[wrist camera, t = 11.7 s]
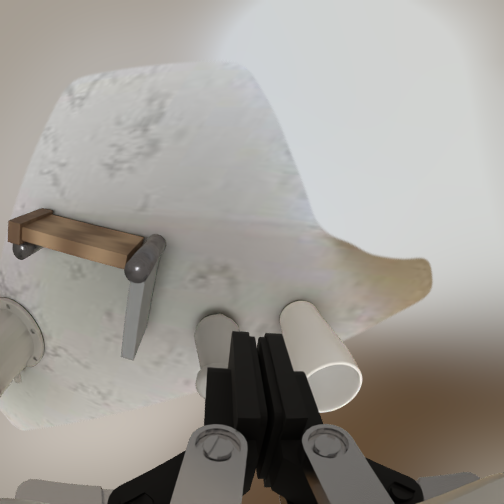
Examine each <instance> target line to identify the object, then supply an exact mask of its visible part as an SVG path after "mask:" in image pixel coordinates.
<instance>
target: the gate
mask: <svg viewBox="0 0 504 504" xmlns="http://www.w3.org/2000/svg"><path fill="white" fill-rule="evenodd" d="M143 239H144V237H140V236H136V235H132V234H128V233H124V232H120V231H116V230H112V229H108V228H104V227H100V226H95V225H91V224H87V223H83V222H79V221H75V220H72V219H68V218H64V217H60V216H56V215H53V211H52V210H48V209H44V208H41V209H38V210H36V211H33V212H30V213H27V214H25V215H22V216H19V217H17V218H14V219H12V220H9V223H8V242H11V243H14V244H17V245H21V244H23V243H24V242H29V243H33V244H36V245H39V246H43V247H46V248H49V249H53V250H56V251H60V252H63V253H67V254H70V255H74V256H77V257H81V258H84V259H88V260H91V261H95V262H99V263H102V264H106V265H110V266H114V267H117V268H121V269H124V268H125V265H126V263H127V262H128V261H129V260H130V259H131V257H132V256H133V255H134V254H135V253H136V252H137V251H138V249H139V248H140V247H141V246H142V245H143Z"/></svg>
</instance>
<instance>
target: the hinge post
mask: <svg viewBox="0 0 504 504" xmlns="http://www.w3.org/2000/svg"><path fill="white" fill-rule="evenodd" d="M165 247H166V241H165V239H164V238H163V237H162V236H160V235H157V234H154V235H152V236H150V237H149V238H148V239H147V240H146V242H145V243H144V244H143V245H142V246H141V247H140V248H139V249H138V251H137V252H136V253H135V254H134V255H133V256H132V257H131V259H130V260H129V261H128V262H127V263H126V265H125V268H124V272H125V275H126V277H127V278H128V280H130V281H131V282H133V283H142V282H144V281H145V280H146V279H147V277H148V276H149V274H150V272H151V271H152V269H153V267H154V266H155V264H156V263H157V261H158V259H159V258H160V256H161V254H162V253H163V251H164V250H165Z"/></svg>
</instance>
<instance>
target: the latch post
mask: <svg viewBox="0 0 504 504" xmlns="http://www.w3.org/2000/svg"><path fill="white" fill-rule="evenodd" d="M41 248H43V246H39V245H36V244H33V243H29V242H24V243H23V244H21V245H17V244H14V243H13V253H14V255H15V256H16V257H17V258H18V259H20V260H23V259H25V258H27V257H28V256H30V255H31V254H33V253H35V252H36V251H38V250H40V249H41Z"/></svg>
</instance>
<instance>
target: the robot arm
mask: <svg viewBox="0 0 504 504" xmlns="http://www.w3.org/2000/svg"><path fill="white" fill-rule="evenodd" d="M43 353H44V342H43V338H42V335H41V332H40V330H39V328H38V326H37V324H36V322H35V321H34V319H33V318H32V316H31V315H30V314H29V313H28V312H27V311H26V310H25V309H24V308H23V307H22V306H21V305H19V304H18V303H16V302H15V301H13V300H11V299H8V298H0V397H1V396H2V394H3V393H4V391H5V390H6V389H7V387H8V386H9V385H10V383H11V382H12V381H13V379H15V382H16V383H20V382H21V381H22V380H21V375H20V373H21V372H22V370H23V369H24V368H25V367H32V366H35V365H36V364H37V363H39V361H40V360H41V358H42V356H43ZM255 470H256V471H257V477H258V479H264V487H271V489H272V490H273V491H274V492H276V493H277V494H279V498H280V503H281V504H504V472H503V473H498V474H494V475H491V476H487V477H485V478H481V479H480V478H479V477H478V476H477V475H475V474H473V473H471V472H463V473H456V474H448V475H440V476H432V477H421V478H419V479H418V480H417V481H415V480H414V479H412V478H410V477H408V476H406V475H403V474H401V473H399V472H396V471H394V470H392V469H390V468H387V467H385V466H383V465H381V464H378V463H376V462H374V461H372V460H370V459H367V458H365V457H364V455H363V454H362V452H361V451H360V449H359V448H358V446H357V444H356V443H355V441H354V440H353V438H352V437H351V436H350V434H349V433H348V432H346V431H345V430H344V429H342V428H340V427H337V426H335V425H329V424H323V422H322V419H321V416H320V414H319V411H318V408H317V405H316V402H315V399H314V397H313V394H312V391H311V388H310V385H309V382H308V380H307V377H306V374H305V372H303V371H294V370H293V367H292V364H291V360H290V357H289V354H288V351H287V348H286V344H285V341H284V338H283V335H282V334H272V333H266V334H265V336H264V337H259V339H258V345H257V347H256V341H255V337H251V336H249V332H239V331H232V335H231V343H230V353H229V362H228V369H227V368H213V367H207V381H206V399H205V419H204V426H203V427H201V428H198V429H197V430H196V431H195V432H193V434H192V435H191V437H190V439H189V442H188V445H187V448H186V451H184V452H182V453H180V454H179V455H177V456H175V457H174V458H172V459H170V460H168V461H166V462H165V463H163V464H161V465H159V466H157V467H156V468H154V469H152V470H150V471H148V472H146V473H144V474H143V475H140V476H139V477H136V478H135V479H133V480H131V481H129V482H126V483H124V484H123V485H121V486H119V487H118V488H116V489H115V490H107V489H102V488H101V486H88V485H76V484H66V483H58V482H51V481H44V480H37V479H36V480H35V479H34V480H33V479H30V480H28V481H25V482H23V483H22V484H21V485H20V486H19V487H18V488H17V492H16V495H15V499H9V498H0V504H241V502H242V496H243V495H244V494H246V493H247V492H248V491H249V490H250V487H251V483H252V480H253V477H254V473H255Z"/></svg>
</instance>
